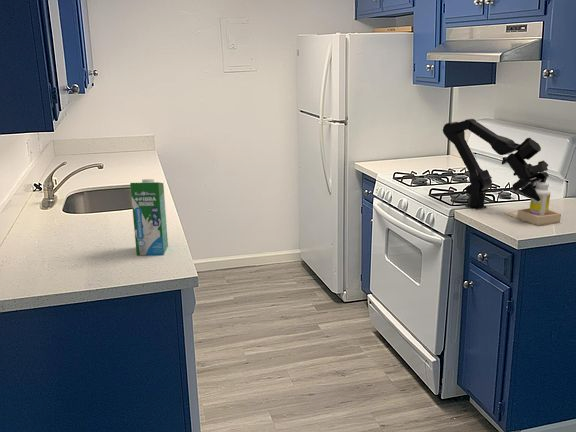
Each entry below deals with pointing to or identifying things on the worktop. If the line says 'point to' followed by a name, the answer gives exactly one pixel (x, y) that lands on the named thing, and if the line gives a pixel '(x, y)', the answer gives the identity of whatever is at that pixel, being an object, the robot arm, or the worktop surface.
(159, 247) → the milk carton
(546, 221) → the mailer box
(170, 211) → the worktop surface
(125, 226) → the worktop surface
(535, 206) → the supplement bottle
